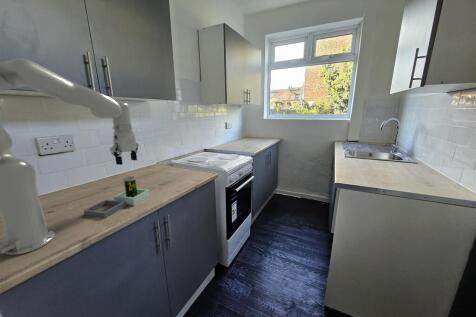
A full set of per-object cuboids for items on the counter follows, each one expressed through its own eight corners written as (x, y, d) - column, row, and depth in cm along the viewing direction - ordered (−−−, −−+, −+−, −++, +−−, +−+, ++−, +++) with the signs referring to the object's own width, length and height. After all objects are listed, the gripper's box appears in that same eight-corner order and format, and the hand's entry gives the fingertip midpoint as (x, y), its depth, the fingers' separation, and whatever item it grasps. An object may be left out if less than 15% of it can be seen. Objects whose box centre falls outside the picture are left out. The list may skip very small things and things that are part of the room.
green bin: (134, 205, 98) (133, 198, 97) (115, 203, 101) (114, 196, 100) (149, 196, 109) (148, 189, 108) (132, 194, 112) (131, 188, 111)
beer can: (124, 200, 104) (121, 178, 101) (134, 196, 108) (131, 175, 106) (130, 202, 101) (127, 180, 98) (140, 198, 106) (137, 177, 103)
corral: (105, 218, 87) (104, 213, 86) (84, 215, 90) (83, 210, 89) (125, 206, 98) (124, 201, 97) (106, 204, 101) (105, 199, 100)
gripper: (114, 129, 87) (119, 166, 91) (141, 127, 104) (145, 159, 107) (101, 129, 89) (106, 165, 93) (129, 127, 106) (133, 158, 109)
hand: (127, 162), depth 100 cm, fingers open, 9 cm apart
